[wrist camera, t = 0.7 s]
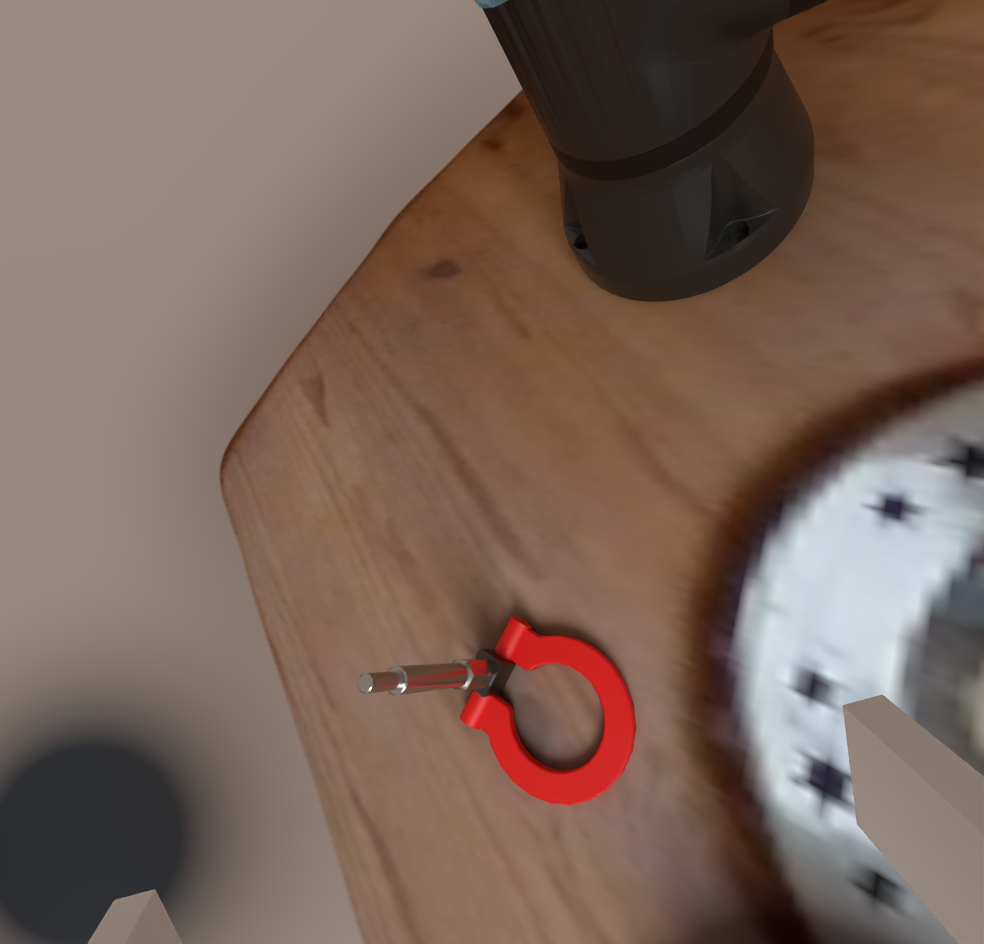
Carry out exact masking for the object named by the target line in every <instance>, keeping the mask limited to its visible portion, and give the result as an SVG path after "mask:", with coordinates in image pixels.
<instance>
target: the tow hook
mask: <svg viewBox="0 0 984 944" xmlns="http://www.w3.org/2000/svg"><path fill="white" fill-rule="evenodd" d="M549 663H559V664H563V665H566V666H570V667H572V668H573V669H575V670H577V671H578V672H580V673H582V674H583V675H584V676H585V677H586V678H587V679H588V680H589V681H590V682H591V684H592V685H593V687H594V689H595V690H596V692H597V694H598V695H599V698H600V701H601V704H602V707H603V712H604V724H605V725H604V731H603V738H602V741H601V743H600V745H599V748H598V750H597V752H596V753H595V755H594V756H593V757H592V758H591V759H590V760H589V762H588V763H586V764H585V765H583V766H581V767H579V768H575V769H571V770H557V769H553V768H551V767H548V766H545V765H543V764H542V763H540V762H539V761H538V760H536V759H535V758H533V757H532V756H531V754H530V753H529V752H528V751H527V750H526V748H525V747H524V746H523V744H522V742H521V740H520V738H519V736H518V734H517V730H516V726H515V722H514V710H513V708H512V706H511V705H510V704H509V703H508V702H506V701H505V700H504V699H502V698H501V697H500V696H498V695H499V694H501V692H502V690H503V688H504V686H505V684H506V682H507V680H508V678H509V676H510V675H511V673H512V671H513V669H514V667H515V665H516V664H517V665H519V666H520V667H522V668H523V669H525V670H535V669H536V668H538V667H539V666H542V665H546V664H549ZM449 688H453V689H456V690H471V689H473V692H472V694H471V696H470V697H469V699H468V701H467V703H466V705H465V707H464V709H463V711H462V713H461V715H460V718H461V720H462V721H463V722H464V723H465V724H467V725H468V726H470V727H472V728H475V729H482V730H483V731H484V732H485V733H487V734H488V735H489V739H490V743H491V746H492V749H493V751H494V753H495V755H496V757H497V759H498V761H499V763H500V765H501V767H502V768H503V769H504V770H505V772H506V773H507V774H508V775H509V777H510V778H511V779H512V780H513V782H514V783H516V784H517V785H518V786H519V787H521V788H522V789H523V790H525V791H526V792H527V793H529V794H530V795H532V796H534V797H536V798H539V799H541V800H544V801H546V802H549V803H555V804H565V805H572V804H576V803H581V802H585V801H589V800H591V799H593V798H594V797H596V796H598V795H599V794H601V793H603V792H604V791H606V790H607V789H609V788H610V787H611V786H612V784H613V783H614V782H615V781H616V780H617V778H618V777H619V776H620V775H621V774H622V773H623V771H624V769H625V767H626V765H627V763H628V760H629V758H630V756H631V754H632V751H633V745H634V739H635V732H636V722H635V712H634V704H633V701H632V698H631V696H630V693H629V690H628V687H627V684H626V682H625V681H624V679H623V677H622V676H621V674H620V673H619V671H618V670H617V668H616V666H615V665H614V664H613V663H612V662H611V661H610V660H609V659H608V658H607V657H606V656H605V655H604V654H603V653H602V652H601V651H600V650H598V649H597V648H595V647H593V646H591V645H590V644H588V643H586V642H584V641H582V640H580V639H576V638H572V637H568V636H564V635H554V636H541V635H539V634H538V633H536V632H535V631H533V630H532V626H531V625H530V624H529V623H527V622H526V621H524V620H523V619H521V618H518V617H516V616H511V618H510V620H509V622H508V624H507V626H506V628H505V630H504V632H503V634H502V635H501V637H500V639H499V641H498V643H497V645H496V647H495V649H480V650H479V651H478V653H477V655H476V657H475V659H464V660H454V661H453V662H452V663H448V664H429V665H409V666H394V667H392V668H390V669H389V670H388V672H377V673H364V674H362V675H361V676H360V677H359V679H358V689H359V691H360V692H361V693H364V694H366V693H375V692H384V691H388V692H389V693H390V694H392V695H402V694H410V693H417V692H425V691H433V690H441V689H449Z"/></svg>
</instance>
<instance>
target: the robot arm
mask: <svg viewBox="0 0 984 944" xmlns="http://www.w3.org/2000/svg"><path fill="white" fill-rule="evenodd" d="M475 1H476V3H477V4H478V5H479V6H480V7H481V8H483V10H484V12H485V14H486V16H487V18H488V20H489V22H490V24H491V26H492V28H493V30H494V32H495V34H496V36H497V38H498V40H499V42H500V44H501V46H502V48H503V50H504V52H505V54H506V56H507V58H508V60H509V62H510V64H511V66H512V68H513V70H514V72H515V74H516V76H517V78H518V80H519V82H520V84H521V86H522V88H523V90H524V92H525V94H526V96H527V98H528V100H529V102H530V104H531V106H532V108H533V110H534V112H535V114H536V116H537V118H538V120H539V122H540V124H541V126H542V128H543V130H544V132H545V134H546V136H547V138H548V140H549V142H550V144H551V146H552V148H553V150H554V152H555V154H556V157H557V159H558V169H559V180H560V191H561V202H562V214H563V224H564V229H565V233H566V237H567V240H568V243H569V245H570V247H571V249H572V251H573V253H574V254H575V256H576V258H577V260H578V262H579V263H580V265H581V267H582V269H583V270H584V271H585V273H586V274H587V275H588V276H589V278H590V279H591V280H592V281H594V282H595V283H596V284H597V285H599V286H600V287H601V288H603V289H605V290H606V291H608V292H610V293H612V294H615V295H618V296H620V297H624V298H628V299H633V300H639V301H669V300H676V299H682V298H686V297H690V296H694V295H698V294H701V293H704V292H707V291H709V290H712V289H714V288H717V287H719V286H721V285H723V284H725V283H728V282H729V281H731V280H733V279H735V278H737V277H738V276H740V275H742V274H743V273H745V272H747V271H748V270H749V269H751V268H752V267H754V266H755V265H756V264H758V263H759V262H760V261H762V260H763V259H764V258H765V257H766V256H767V255H769V254H770V253H771V252H772V251H773V250H774V249H775V248H776V247H777V246H778V245H779V244H780V243H781V242H782V240H783V239H784V238H785V237H786V236H787V235H788V233H789V232H790V231H791V229H792V228H793V226H794V225H795V224H796V222H797V221H798V219H799V217H800V215H801V214H802V212H803V210H804V208H805V205H806V203H807V201H808V198H809V195H810V192H811V188H812V183H813V176H814V136H813V130H812V126H811V121H810V118H809V115H808V113H807V111H806V109H805V107H804V105H803V103H802V101H801V99H800V97H799V95H798V93H797V91H796V90H795V88H794V86H793V84H792V82H791V80H790V78H789V76H788V74H787V72H786V71H785V69H784V67H783V65H782V63H781V61H780V59H779V57H778V55H777V53H776V52H775V50H774V45H773V29H772V25H774V24H776V23H779V22H781V21H783V20H785V19H787V18H790V17H792V16H794V15H796V14H799V13H801V12H803V11H805V10H808V9H810V8H812V7H814V6H817V5H819V4H821V3H825V2H827V1H829V0H475ZM843 712H844V720H845V728H846V737H847V745H848V753H849V762H850V770H851V778H852V786H853V795H854V803H855V811H856V820H857V825H858V826H859V827H860V828H861V829H862V830H863V832H864V833H865V834H866V835H867V836H868V838H869V839H870V840H871V841H872V842H873V843H874V845H875V846H876V847H877V848H878V849H879V851H880V852H881V853H882V854H883V855H884V856H885V858H886V859H887V860H888V861H889V862H890V864H891V865H892V866H893V867H894V868H895V869H896V871H897V872H898V873H899V874H900V875H901V877H902V878H903V879H904V880H905V881H906V883H907V884H908V885H909V886H910V887H911V888H912V890H913V891H914V892H915V893H916V894H917V896H918V897H919V898H920V899H921V900H922V901H923V903H924V904H925V905H926V906H927V907H928V909H929V910H930V911H931V912H932V913H933V914H934V916H935V917H936V918H937V919H938V920H939V922H940V923H941V924H942V925H943V926H944V927H945V929H946V930H947V931H948V932H949V933H950V935H951V936H952V937H953V938H954V939H955V940H956V942H957V943H958V944H984V777H983V776H982V775H981V774H980V773H979V772H977V771H976V770H975V769H974V768H972V767H971V766H970V765H969V764H967V763H966V762H965V761H964V760H962V759H961V758H960V757H959V756H958V755H956V754H955V753H954V752H953V751H951V750H950V749H949V748H948V747H946V746H945V745H944V744H943V743H941V742H940V741H939V740H938V739H937V738H935V737H934V736H933V735H932V734H930V733H929V732H928V731H927V730H925V729H924V728H923V727H922V726H920V725H919V724H918V723H917V722H916V721H914V720H913V719H912V718H911V717H909V716H908V715H907V714H906V713H904V712H903V711H902V710H901V709H899V708H898V707H897V706H896V705H895V704H893V703H892V702H891V701H890V700H888V699H887V698H886V697H885V696H883V695H880V696H876V697H872V698H868V699H865V700H861V701H857V702H853V703H850V704H846V705H843ZM88 944H182V942H181V940H180V938H179V936H178V934H177V932H176V930H175V928H174V926H173V924H172V922H171V920H170V918H169V916H168V914H167V912H166V910H165V908H164V906H163V904H162V902H161V900H160V898H159V896H158V894H157V893H156V890H150V891H147V892H143V893H139V894H135V895H132V896H128V897H124V898H120V899H117V900H114V902H113V903H112V905H111V907H110V908H109V910H108V911H107V913H106V915H105V916H104V918H103V920H102V921H101V923H100V924H99V926H98V928H97V929H96V931H95V932H94V934H93V936H92V937H91V939H90V940H89V942H88Z"/></svg>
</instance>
